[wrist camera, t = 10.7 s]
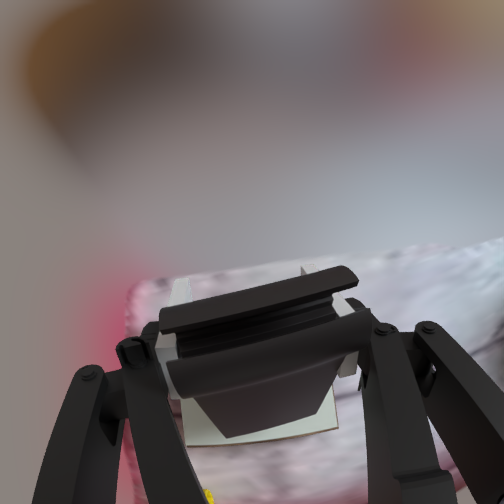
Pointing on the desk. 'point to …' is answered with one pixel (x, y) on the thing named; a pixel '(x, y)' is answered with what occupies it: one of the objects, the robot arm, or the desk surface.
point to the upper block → (207, 433)
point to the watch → (208, 496)
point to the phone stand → (264, 349)
